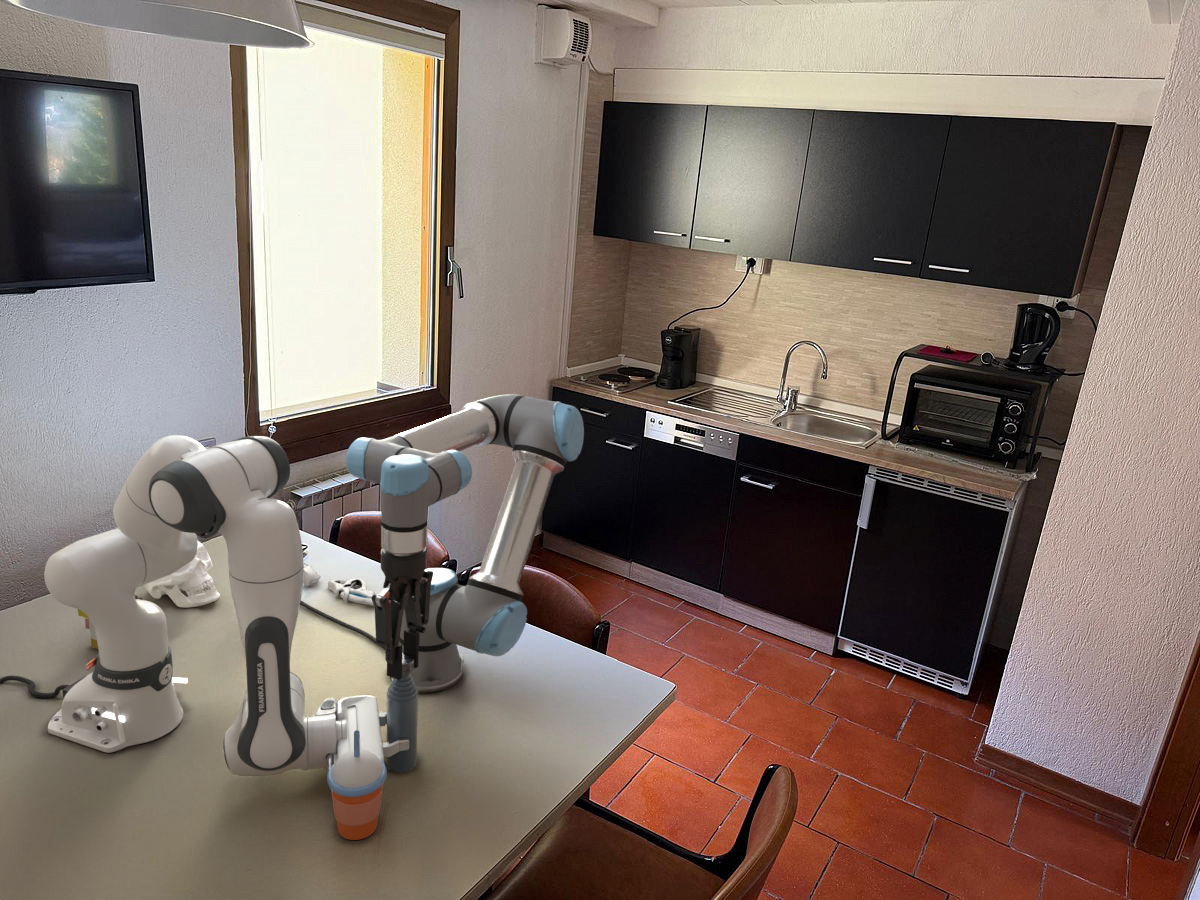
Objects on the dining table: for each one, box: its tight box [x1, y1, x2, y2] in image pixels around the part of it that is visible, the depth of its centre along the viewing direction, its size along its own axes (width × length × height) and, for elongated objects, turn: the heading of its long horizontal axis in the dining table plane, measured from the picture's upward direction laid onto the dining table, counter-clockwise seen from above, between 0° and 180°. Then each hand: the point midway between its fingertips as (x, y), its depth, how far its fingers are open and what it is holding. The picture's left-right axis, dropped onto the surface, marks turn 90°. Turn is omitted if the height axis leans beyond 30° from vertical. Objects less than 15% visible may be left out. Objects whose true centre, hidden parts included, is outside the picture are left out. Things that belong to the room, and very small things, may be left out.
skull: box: [142, 540, 221, 609], centre depth 204 cm, size 13×22×16 cm, turn 73°
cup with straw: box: [326, 730, 388, 841], centre depth 136 cm, size 9×9×18 cm
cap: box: [402, 653, 414, 676], centre depth 149 cm, size 4×4×2 cm
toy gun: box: [327, 578, 376, 607], centre depth 212 cm, size 18×2×10 cm
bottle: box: [385, 674, 419, 773], centre depth 152 cm, size 5×5×21 cm
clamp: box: [303, 562, 322, 587], centre depth 219 cm, size 20×4×7 cm, turn 62°
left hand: (407, 731), depth 153 cm, fingers closed on bottle, 5 cm apart
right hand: (402, 670), depth 149 cm, fingers closed on cap, 4 cm apart
